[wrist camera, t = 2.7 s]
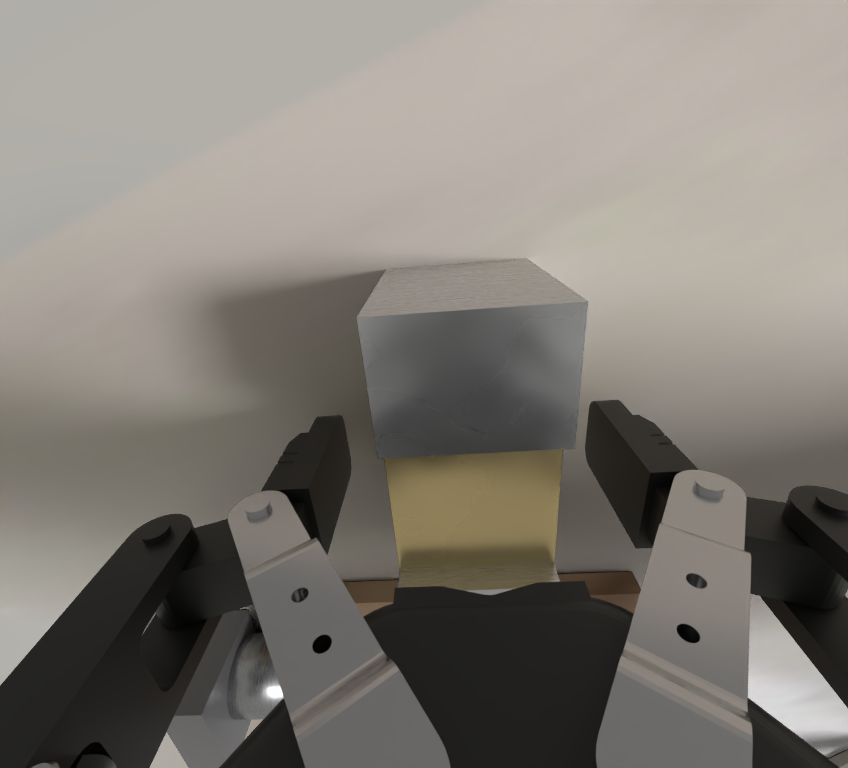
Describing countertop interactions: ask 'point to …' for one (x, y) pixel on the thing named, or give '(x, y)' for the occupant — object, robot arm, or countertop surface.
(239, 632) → the coupling stand
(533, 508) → the gray and yellow block
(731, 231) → the countertop surface
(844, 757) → the skyscraper
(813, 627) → the robot arm
